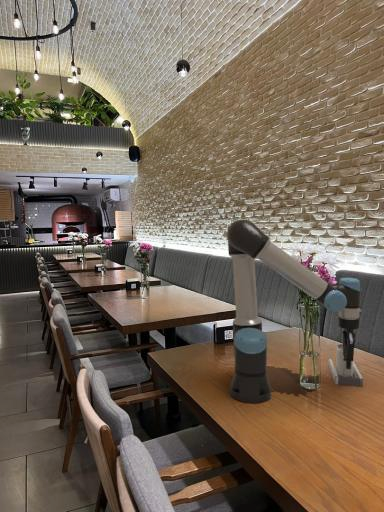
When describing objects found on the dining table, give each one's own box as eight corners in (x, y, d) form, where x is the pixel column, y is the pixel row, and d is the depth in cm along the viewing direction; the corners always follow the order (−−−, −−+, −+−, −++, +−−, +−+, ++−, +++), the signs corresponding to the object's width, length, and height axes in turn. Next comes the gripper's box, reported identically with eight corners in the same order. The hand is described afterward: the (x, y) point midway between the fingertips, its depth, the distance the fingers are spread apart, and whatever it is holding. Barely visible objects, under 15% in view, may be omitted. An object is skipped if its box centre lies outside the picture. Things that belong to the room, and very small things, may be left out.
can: (354, 378, 155) (354, 349, 154) (337, 376, 156) (337, 348, 155) (350, 372, 161) (351, 344, 160) (334, 370, 162) (335, 343, 161)
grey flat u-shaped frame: (362, 386, 147) (363, 378, 147) (335, 384, 149) (335, 376, 149) (352, 367, 166) (352, 360, 166) (328, 365, 169) (328, 359, 168)
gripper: (362, 322, 142) (361, 383, 144) (355, 314, 155) (354, 370, 157) (341, 321, 144) (340, 381, 146) (336, 313, 156) (335, 368, 158)
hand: (347, 375), depth 151 cm, fingers closed
